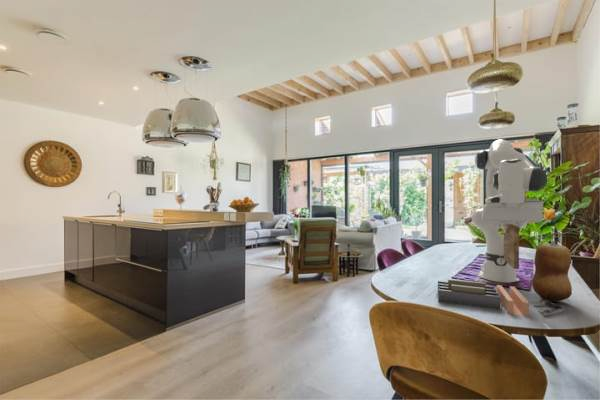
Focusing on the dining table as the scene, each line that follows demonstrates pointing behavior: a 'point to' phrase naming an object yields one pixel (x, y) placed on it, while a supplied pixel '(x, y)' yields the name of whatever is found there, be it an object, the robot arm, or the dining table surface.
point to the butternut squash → (552, 272)
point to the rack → (469, 297)
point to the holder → (513, 301)
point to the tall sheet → (511, 245)
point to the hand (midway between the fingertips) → (510, 232)
